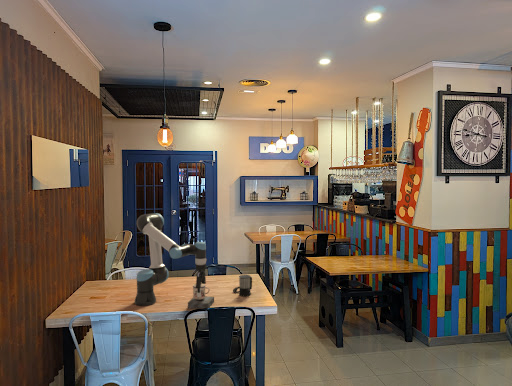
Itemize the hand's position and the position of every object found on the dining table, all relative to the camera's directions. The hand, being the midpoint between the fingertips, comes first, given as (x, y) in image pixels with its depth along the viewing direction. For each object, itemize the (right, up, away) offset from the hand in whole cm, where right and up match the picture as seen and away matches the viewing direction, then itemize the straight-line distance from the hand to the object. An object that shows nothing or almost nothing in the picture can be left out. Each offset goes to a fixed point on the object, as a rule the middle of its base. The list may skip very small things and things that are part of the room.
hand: (201, 294), depth 268 cm
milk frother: (+28, -7, +27) cm, 39 cm away
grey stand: (0, -7, 0) cm, 7 cm away
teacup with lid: (0, -2, +1) cm, 2 cm away
